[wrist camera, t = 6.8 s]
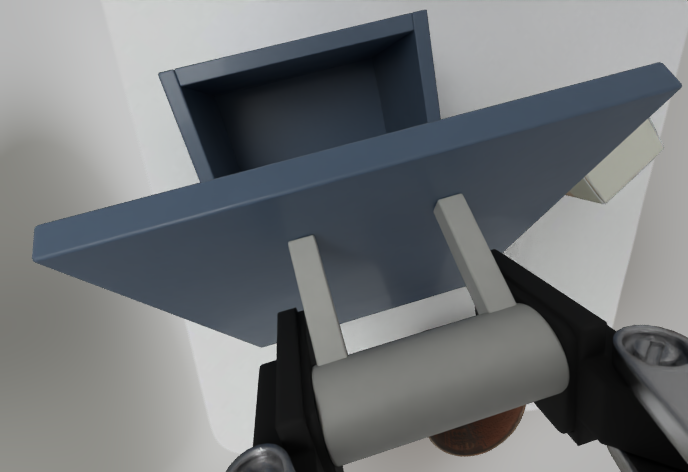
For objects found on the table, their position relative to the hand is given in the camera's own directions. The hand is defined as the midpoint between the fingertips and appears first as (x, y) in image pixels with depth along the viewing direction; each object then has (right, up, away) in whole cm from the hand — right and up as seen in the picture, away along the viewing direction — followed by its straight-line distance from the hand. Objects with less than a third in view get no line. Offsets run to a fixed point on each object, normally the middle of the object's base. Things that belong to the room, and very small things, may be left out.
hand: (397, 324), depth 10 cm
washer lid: (-1, +2, +4) cm, 5 cm away
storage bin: (-4, +8, +19) cm, 21 cm away
